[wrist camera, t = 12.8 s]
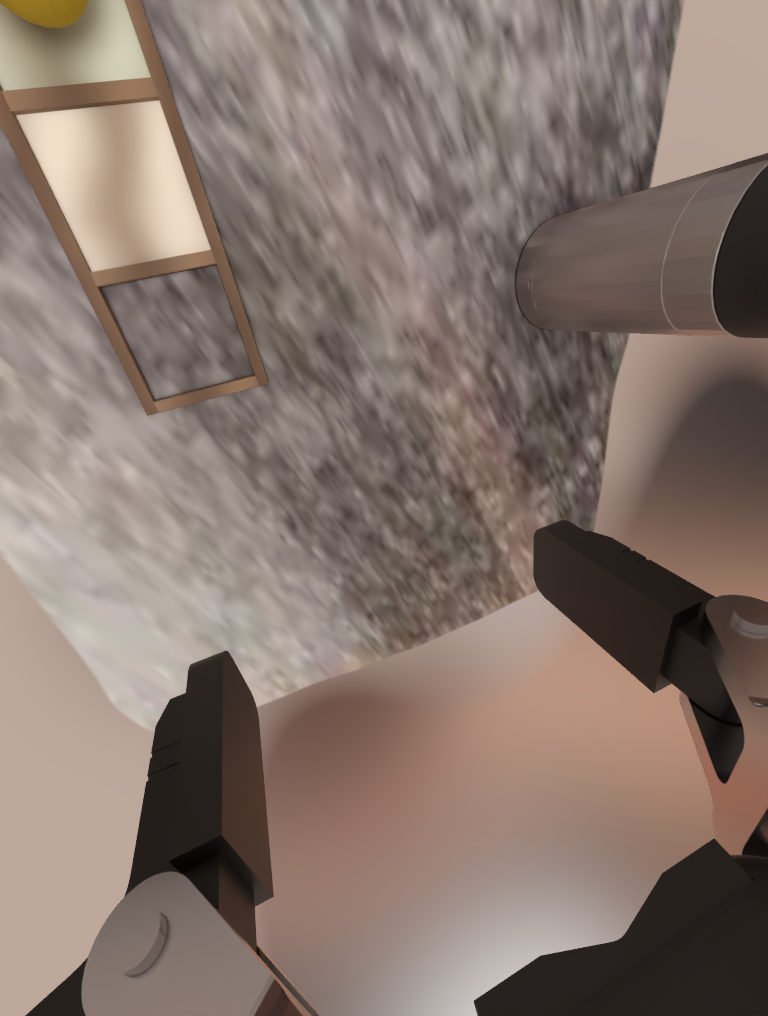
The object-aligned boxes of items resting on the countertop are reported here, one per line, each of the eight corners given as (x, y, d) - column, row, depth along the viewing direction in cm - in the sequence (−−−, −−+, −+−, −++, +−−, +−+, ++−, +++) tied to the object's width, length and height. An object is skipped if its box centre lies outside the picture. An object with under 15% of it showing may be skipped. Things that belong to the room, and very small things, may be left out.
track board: (87, -156, 19) (83, -173, 18) (267, 381, 32) (268, 383, 31) (-140, -162, 17) (-155, -182, 16) (149, 413, 30) (147, 415, 29)
